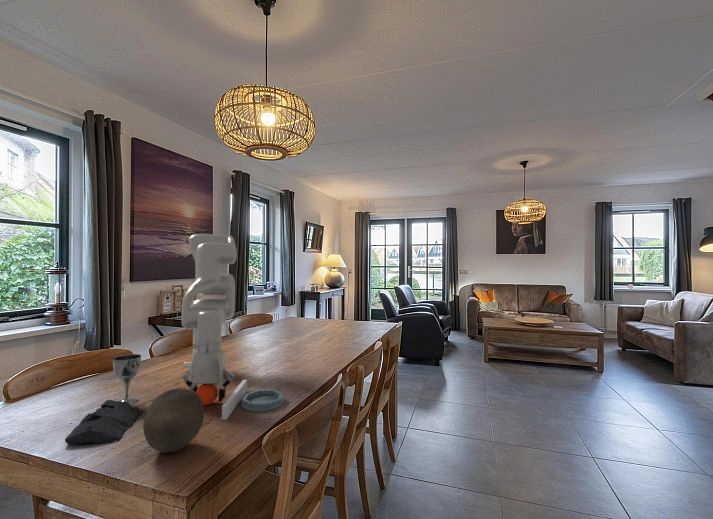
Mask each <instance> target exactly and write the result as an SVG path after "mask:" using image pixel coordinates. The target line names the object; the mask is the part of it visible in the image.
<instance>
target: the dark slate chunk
mask: <svg viewBox="0 0 713 519" xmlns="http://www.w3.org/2000/svg"><path fill="white" fill-rule="evenodd" d="M143 411H144V409H143V408H139V407H133V406H132V404H128V403H127V402H121V401H118V400H112V399H107V400H105V401H104V402H103V403H102V404H101V405H100V408H97V409H96V410H95V411H94V412H91V413H88V414H87V415H85V416H84V417H83V419H81V421H80V423H79V424H78V425H76V426H75V427H74V428H73V429H72V430H71V432H70V433H69V434H68V435H67V436H65V438H64V442H65V443H66V444H67V445H75V444H88V443H90V442H91V444H98V443H99V444H100V443H101V444H103V443H104V444H105V442H109V443H112V442H111V441H114V442H116V441H115V440H118V441H121V440H122V439H123V438H122V436H123V435H124V433H125V432H126V431H127V430H128V429H129V428H130V429H132V427H133V426H134V425H135V423H136V422H137V421H138V420H139V418H140V417H141V415H142V414H143V413H144V412H143ZM142 412H143V413H142ZM139 416H140V417H139ZM138 417H139V418H138ZM136 420H137V421H136ZM134 422H135V423H134ZM133 424H134V425H133ZM131 426H132V427H131ZM130 429H129V430H130ZM121 438H122V439H121ZM120 439H121V440H120Z"/></svg>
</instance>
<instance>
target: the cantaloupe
mask: <svg viewBox="0 0 713 519" xmlns="http://www.w3.org/2000/svg"><path fill="white" fill-rule="evenodd" d="M204 406H205V405H203V402H202V400H201V398H200V396H199V395H198V394H197V393H196V392H194V391H193V390H190V388H189V389H188V388H171V389H169V390H166V391H163V392H162V393H161V394H159V395H158V396H156V397H154V399H153V400H152V402H151V403H150V405H149V406H148V408H147V411H146V412H145V415H144V418H143V426H142V429H143V434H144V437H145V440H146V442H147V444H148V445H149V446H150V447H151V448H152V449H154V450H156V452H160V453H165V454H167V453H173V452H177V451H180V450H181V449H183V448H185V446H188V445H189V444H190V442H192V441H193V440H194V439H195V438H196V437H197V435H198V433H199V432H200V431H201V428H202V426H203V422H204V418H205V408H204Z"/></svg>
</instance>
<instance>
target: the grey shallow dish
mask: <svg viewBox="0 0 713 519" xmlns="http://www.w3.org/2000/svg"><path fill="white" fill-rule="evenodd" d="M283 404H284V393H283V392H280V391H278V390H276V389H257V390H254V391H251V392H248V393H247V392H246V393H245V394H244V396H243V397H242V399H241V408H242V409H244V410H245V411H247V412H252V413H253V412H254V413H259V412H260V413H263V412H269V411H274V410H276V409H278V408H280V407H281V406H282V405H283Z"/></svg>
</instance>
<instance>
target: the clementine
mask: <svg viewBox="0 0 713 519" xmlns="http://www.w3.org/2000/svg"><path fill="white" fill-rule="evenodd" d="M217 387H219V385H218V384H217V383H216V384H201V385H199V386H198V389H197V391H196V393H197V394H198V395H199V396H200V398H201V400H202V402H203V406H208V405H211V404H213V403H214V402H215V401H216V400H217V397H219V389H218V388H217Z"/></svg>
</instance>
